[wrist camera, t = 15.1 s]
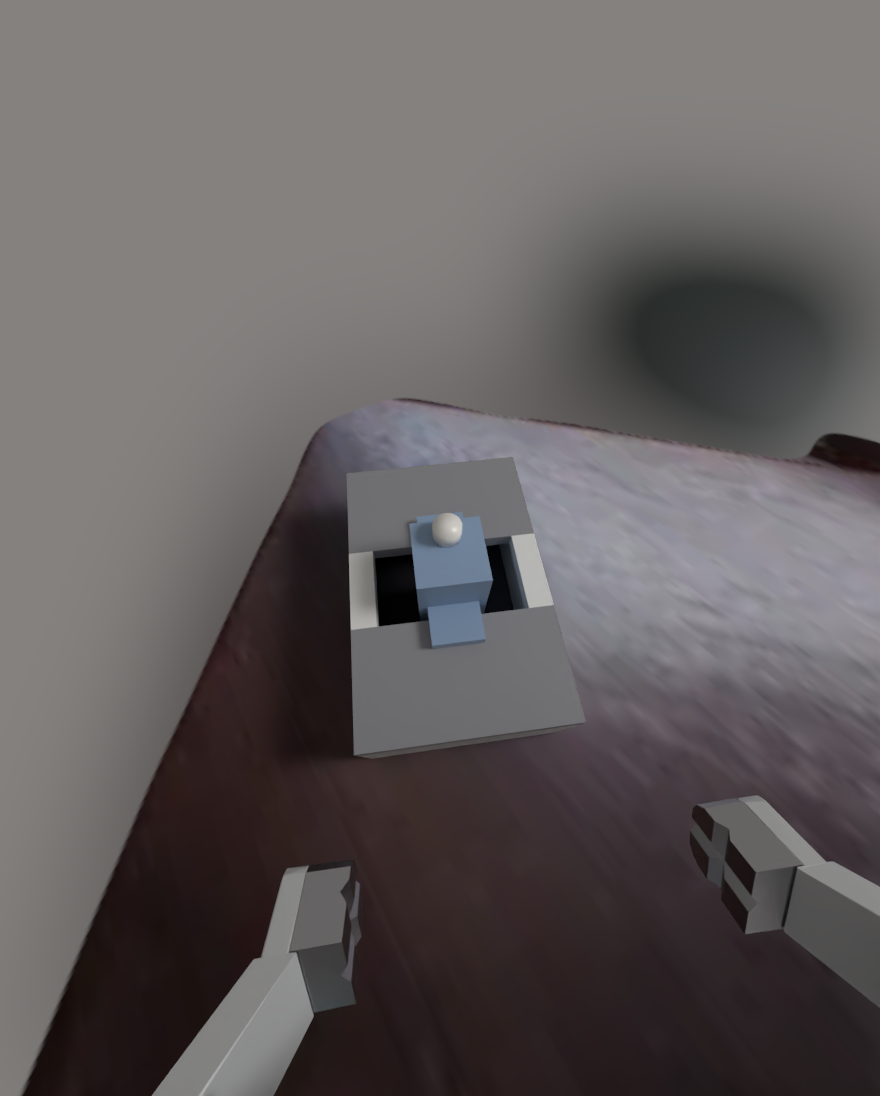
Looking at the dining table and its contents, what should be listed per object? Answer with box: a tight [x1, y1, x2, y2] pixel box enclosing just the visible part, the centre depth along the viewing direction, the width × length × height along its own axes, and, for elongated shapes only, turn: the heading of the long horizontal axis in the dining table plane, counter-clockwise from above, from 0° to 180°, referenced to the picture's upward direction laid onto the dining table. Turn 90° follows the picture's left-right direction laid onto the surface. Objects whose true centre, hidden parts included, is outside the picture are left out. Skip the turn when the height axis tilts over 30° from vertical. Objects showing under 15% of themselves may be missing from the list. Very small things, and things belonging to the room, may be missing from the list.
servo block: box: [409, 512, 493, 649], centre depth 25 cm, size 4×8×9 cm, turn 7°
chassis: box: [347, 457, 586, 759], centre depth 28 cm, size 12×18×6 cm, turn 7°
